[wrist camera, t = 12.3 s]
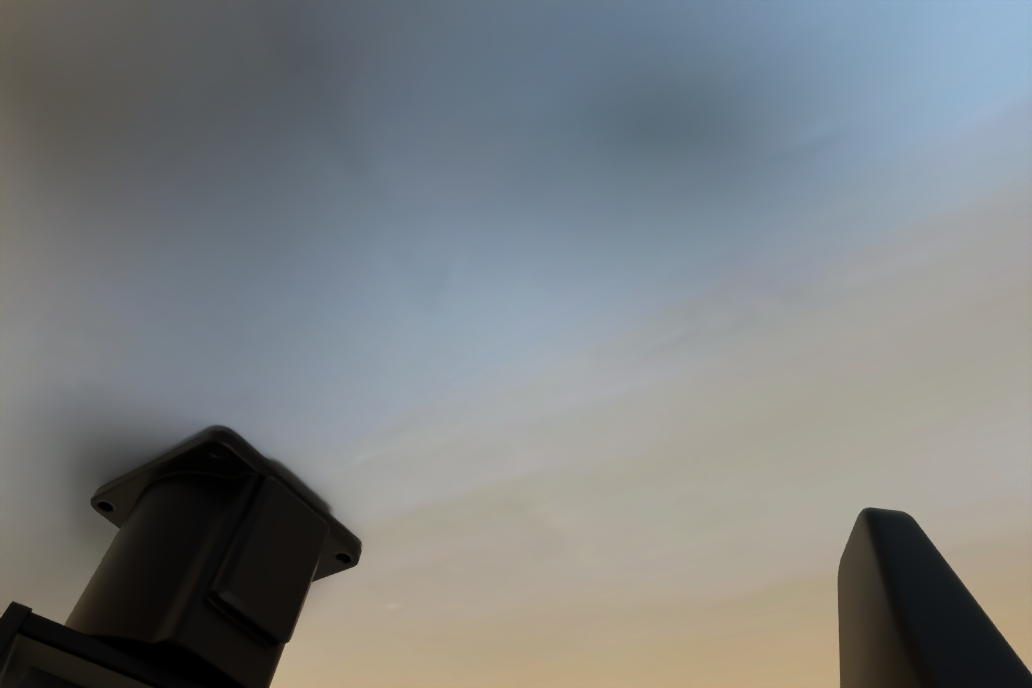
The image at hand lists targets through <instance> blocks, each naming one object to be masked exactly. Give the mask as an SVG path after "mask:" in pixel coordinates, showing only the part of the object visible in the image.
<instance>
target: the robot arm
mask: <svg viewBox="0 0 1032 688" xmlns="http://www.w3.org/2000/svg"><path fill="white" fill-rule="evenodd" d="M91 505H92V507H93V508H94V509H95V510H96V511H97V512H98V513H100V514H101V515H102V516H104V517H105V518H106V519H108V520H109V521H110V522H112V523H113V524H114V525H116V526H117V527H118V528H120V530H119V531H118V533H117V535H116V537H115V538H114V540H113V542H112V543H111V545H110V547H109V549H108V550H107V552H106V554H105V556H104V557H103V559H102V561H101V562H100V564H99V566H98V568H97V569H96V571H95V573H94V575H93V576H92V578H91V580H90V582H89V583H88V585H87V587H86V588H85V590H84V592H83V594H82V595H81V597H80V599H79V601H78V602H77V604H76V606H75V607H74V609H73V611H72V613H71V614H70V616H69V618H68V620H67V621H66V623H65V625H62V624H59V623H57V622H54V621H52V620H49V619H47V618H44V617H42V616H39V615H37V614H34V613H32V608H29V607H27V606H24V605H22V604H19V603H17V602H14V601H12V603H11V604H10V605H9V607H8V608H7V610H6V611H5V612H4V614H3V615H2V617H1V618H0V688H269V687H270V684H271V682H272V679H273V676H274V674H275V671H276V668H277V665H278V663H279V660H280V657H281V655H282V652H283V649H284V646H285V644H286V643H288V642H289V641H290V639H291V637H292V635H293V632H294V629H295V626H296V624H297V621H298V618H299V616H300V613H301V610H302V607H303V605H304V602H305V599H306V596H307V594H308V591H309V588H310V585H311V583H312V582H313V581H316V580H318V579H321V578H324V577H327V576H330V575H332V574H335V573H338V572H341V571H343V570H346V569H349V568H352V567H354V566H356V565H357V564H358V561H359V558H360V555H361V552H362V550H361V547H360V546H359V545H358V544H357V543H356V542H355V541H354V540H353V539H352V538H351V537H349V536H348V535H347V534H346V533H345V532H344V531H342V530H341V529H340V528H339V527H338V526H337V525H335V524H334V523H333V522H332V521H331V520H330V519H329V518H327V517H326V516H325V515H324V514H323V513H322V512H320V511H319V510H318V509H317V508H316V507H315V506H314V505H312V504H311V503H310V502H309V501H308V500H307V499H305V498H304V497H303V496H302V495H301V494H300V493H298V492H297V491H296V490H295V489H294V488H293V487H292V486H290V485H289V484H288V483H287V482H286V481H285V480H283V479H282V478H281V477H280V476H279V475H278V474H277V473H275V472H274V471H273V470H272V469H271V468H270V467H268V466H267V465H266V464H265V463H264V462H263V461H261V460H260V459H259V458H258V457H257V456H256V455H255V454H253V453H252V452H251V451H250V450H249V449H248V448H246V447H245V446H244V445H243V444H242V443H241V442H240V441H238V440H237V439H236V438H235V437H234V436H232V435H231V434H229V433H227V432H224V431H217V430H216V431H212V432H209V433H207V434H205V435H203V436H201V437H199V438H197V439H195V440H193V441H191V442H189V443H187V444H185V445H183V446H181V447H179V448H177V449H175V450H173V451H171V452H169V453H167V454H166V455H164V456H162V457H160V458H158V459H156V460H154V461H152V462H150V463H148V464H146V465H144V466H142V467H140V468H138V469H136V470H134V471H132V472H130V473H128V474H126V475H124V476H122V477H120V478H118V479H116V480H114V481H112V482H110V483H108V484H106V485H104V486H102V487H100V488H99V489H98V490H97V491H96V492H95V494H94V496H93V497H92V499H91ZM838 614H839V652H840V688H1032V674H1031V673H1030V671H1029V670H1028V669H1027V667H1026V666H1025V665H1024V663H1023V662H1022V661H1021V659H1020V658H1019V657H1018V655H1017V654H1016V653H1015V651H1014V650H1013V649H1012V647H1011V646H1010V645H1009V644H1008V642H1007V641H1006V640H1005V638H1004V637H1003V636H1002V634H1001V633H1000V632H999V630H998V629H997V628H996V626H995V625H994V624H993V622H992V621H991V620H990V618H989V617H988V616H987V614H986V613H985V612H984V611H983V609H982V608H981V607H980V605H979V604H978V603H977V601H976V600H975V599H974V597H973V596H972V595H971V593H970V592H969V591H968V589H967V588H966V587H965V585H964V584H963V583H962V581H961V580H960V579H959V578H958V576H957V575H956V574H955V572H954V571H953V570H952V568H951V567H950V566H949V564H948V563H947V562H946V560H945V559H944V558H943V556H942V555H941V554H940V552H939V551H938V550H937V549H936V547H935V546H934V545H933V543H932V542H931V541H930V539H929V538H928V537H927V535H926V534H925V533H924V531H923V530H922V529H921V527H920V526H919V525H918V523H917V522H916V521H915V520H914V518H913V517H911V516H910V515H909V514H907V513H905V512H902V511H896V510H887V509H879V508H871V507H870V508H865V509H863V510H862V511H861V512H860V514H859V515H858V517H857V520H856V522H855V525H854V527H853V530H852V532H851V535H850V537H849V540H848V542H847V545H846V547H845V550H844V552H843V555H842V557H841V560H840V565H839V571H838Z"/></svg>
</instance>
